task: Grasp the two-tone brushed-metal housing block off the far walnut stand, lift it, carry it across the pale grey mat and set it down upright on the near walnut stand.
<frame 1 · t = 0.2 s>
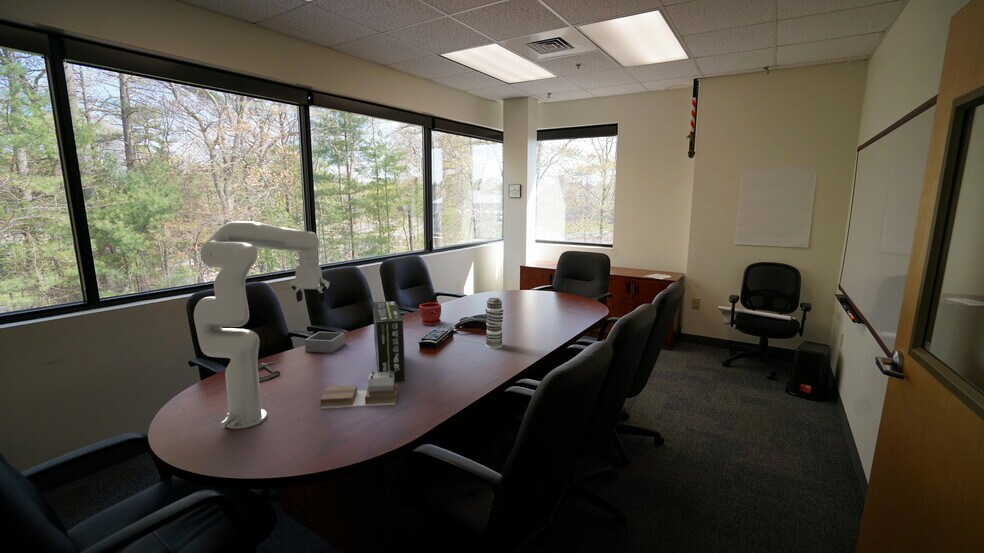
hand: (310, 301, 188), 31 cm above the table, fingers open, 9 cm apart
plant pot: (430, 324, 270), on the table
router box: (389, 368, 198), on the table
stand a: (382, 397, 167), resting on mat
stand b: (339, 399, 165), resting on mat
model tower: (494, 346, 229), on the table
c clamp: (264, 374, 191), on the table
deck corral: (325, 347, 224), on the table
housing: (382, 390, 167), point 3 cm above the table, touching stand a
mat: (361, 398, 166), on the table
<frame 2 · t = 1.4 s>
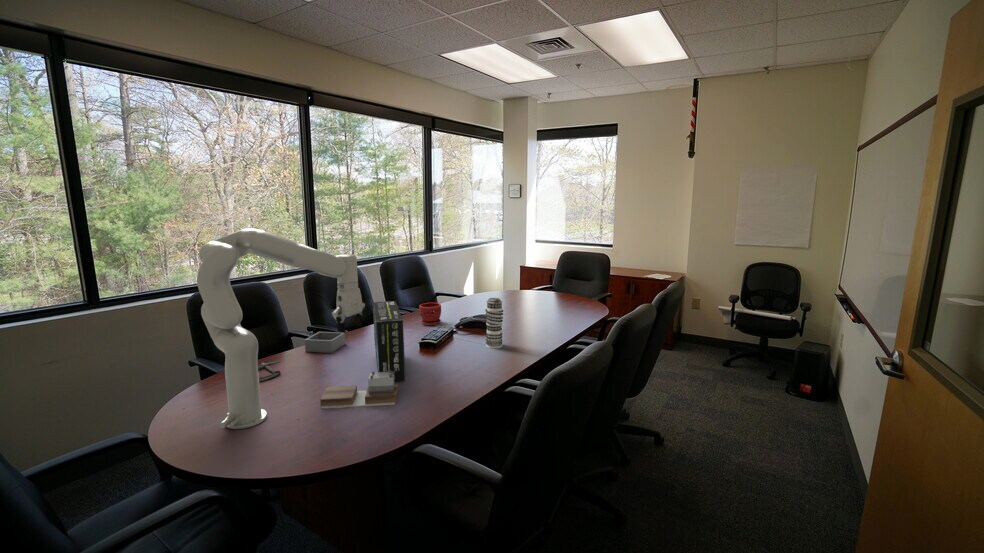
hand: (350, 328, 174), 24 cm above the table, fingers open, 9 cm apart
nothing on the table moved.
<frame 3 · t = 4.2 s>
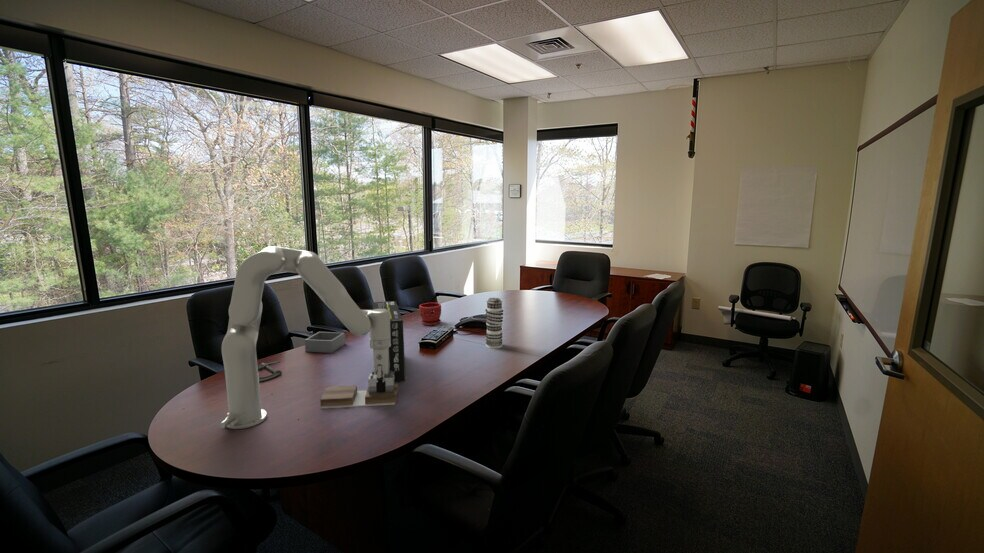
hand: (381, 387, 167), 4 cm above the table, fingers closed on housing, 6 cm apart
housing: (382, 390, 167), point 3 cm above the table, touching gripper, stand a
everything else where it was.
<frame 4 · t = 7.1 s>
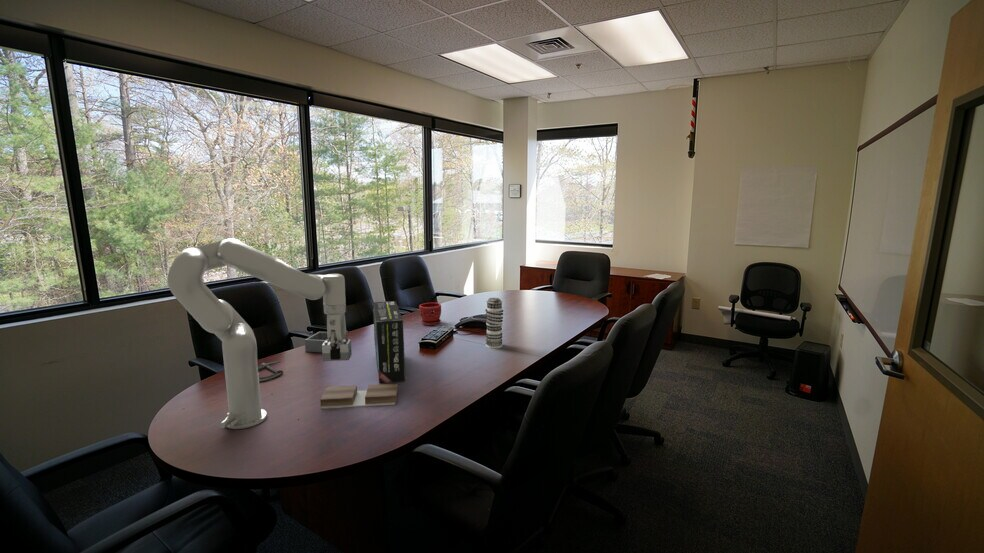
hand: (337, 355, 162), 17 cm above the table, fingers closed on housing, 6 cm apart
housing: (337, 357, 162), point 16 cm above the table, touching gripper
everything else where it was.
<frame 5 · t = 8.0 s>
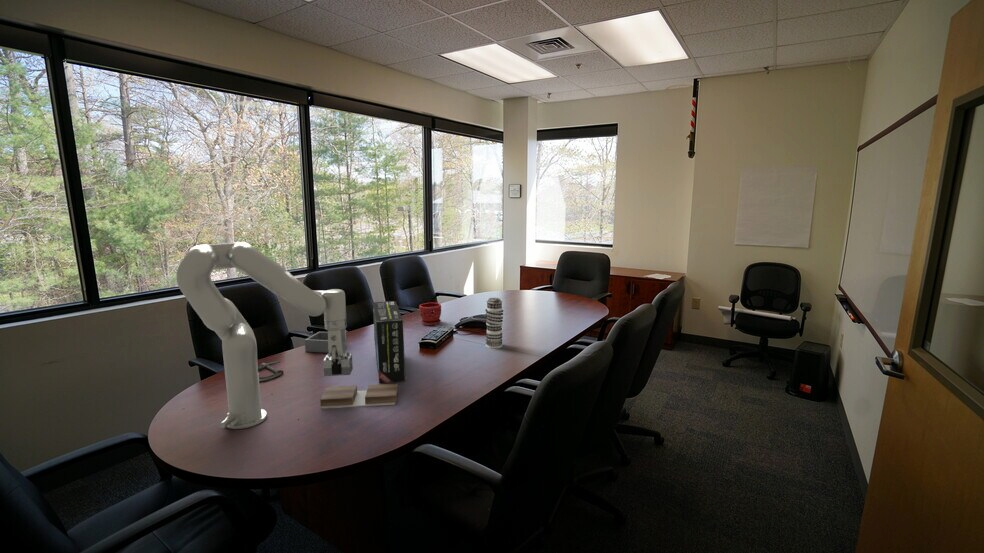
hand: (338, 370, 163), 12 cm above the table, fingers closed on housing, 6 cm apart
housing: (338, 372, 163), point 11 cm above the table, touching gripper
everything else where it was.
when the fingers open (5 cm above the table, at t = 9.7 s): housing stays where it is, resting on stand b.
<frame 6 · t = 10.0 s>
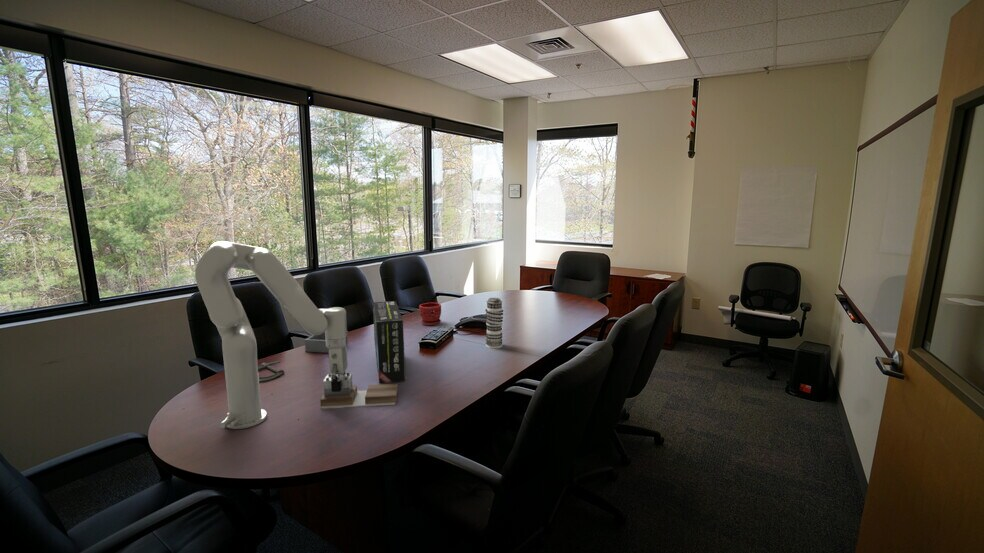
hand: (338, 385, 164), 6 cm above the table, fingers open, 9 cm apart
housing: (338, 392, 164), point 3 cm above the table, touching stand b
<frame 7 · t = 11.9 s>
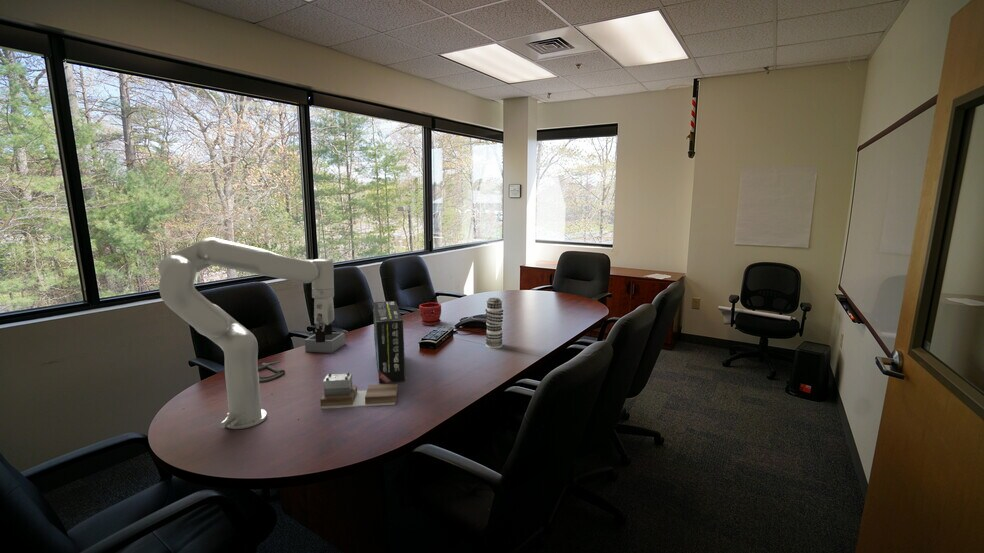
hand: (324, 338, 164), 23 cm above the table, fingers open, 9 cm apart
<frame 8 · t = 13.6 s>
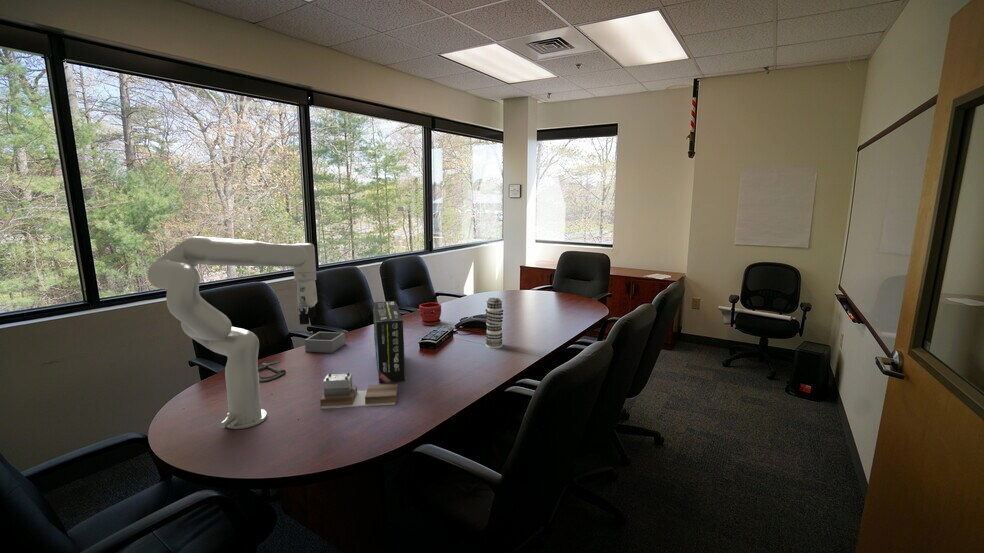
hand: (308, 320, 168), 28 cm above the table, fingers open, 9 cm apart
at the end: housing 0.1 cm off-centre on the stand b, point 3.0 cm above the stand b's base; housing tilted 0°; the gripper is holding nothing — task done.
